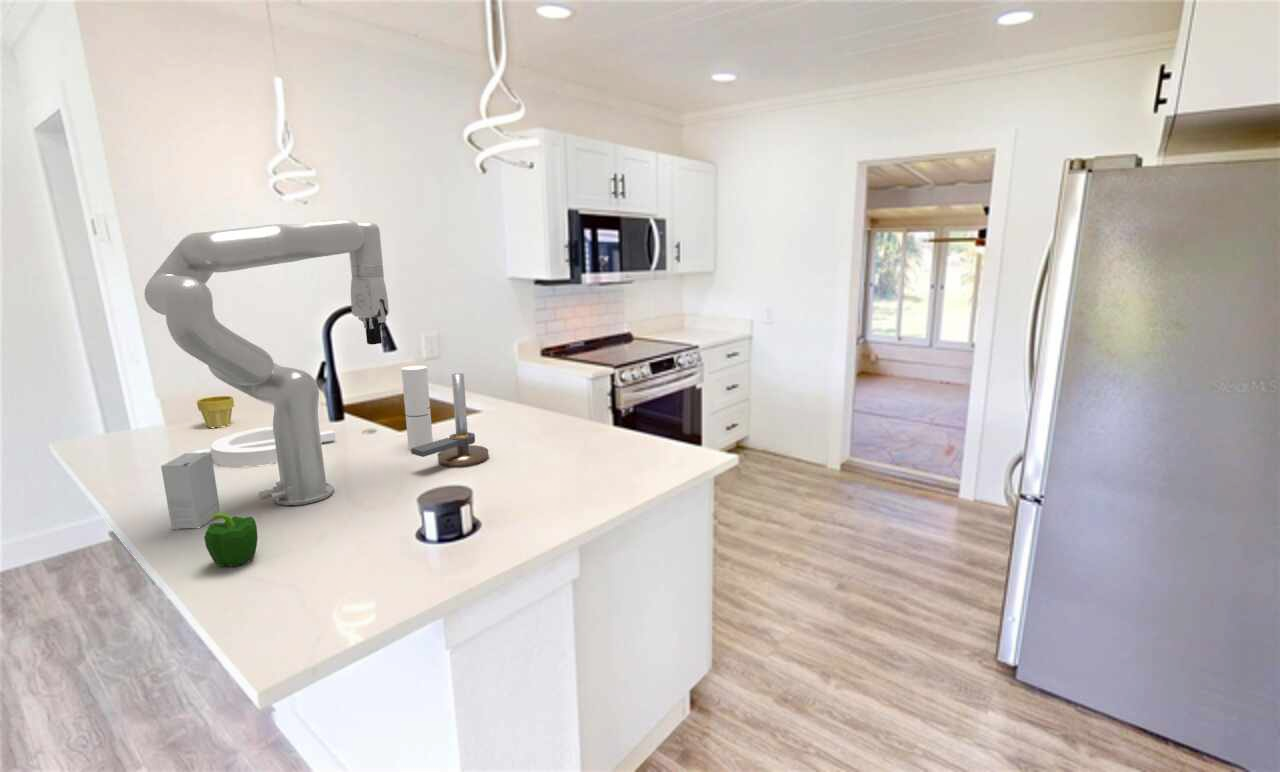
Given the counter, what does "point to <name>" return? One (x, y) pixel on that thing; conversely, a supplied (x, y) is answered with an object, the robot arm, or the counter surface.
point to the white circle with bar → (250, 447)
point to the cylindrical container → (417, 405)
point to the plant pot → (216, 410)
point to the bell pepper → (231, 540)
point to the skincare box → (190, 490)
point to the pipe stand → (461, 433)
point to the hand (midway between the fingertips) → (374, 343)
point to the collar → (443, 445)
